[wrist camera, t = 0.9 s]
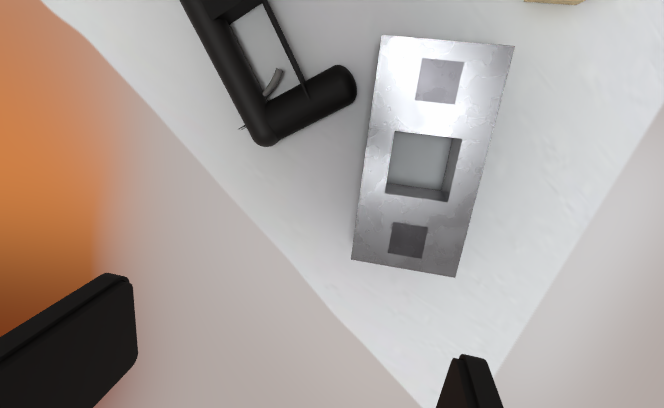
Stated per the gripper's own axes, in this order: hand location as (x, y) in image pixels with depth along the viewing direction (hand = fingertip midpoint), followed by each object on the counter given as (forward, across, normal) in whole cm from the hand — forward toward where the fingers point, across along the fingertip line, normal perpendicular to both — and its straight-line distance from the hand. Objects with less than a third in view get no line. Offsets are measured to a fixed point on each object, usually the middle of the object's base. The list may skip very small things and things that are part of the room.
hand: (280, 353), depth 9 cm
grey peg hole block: (+26, -6, -2) cm, 26 cm away
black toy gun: (+26, +10, -12) cm, 31 cm away
